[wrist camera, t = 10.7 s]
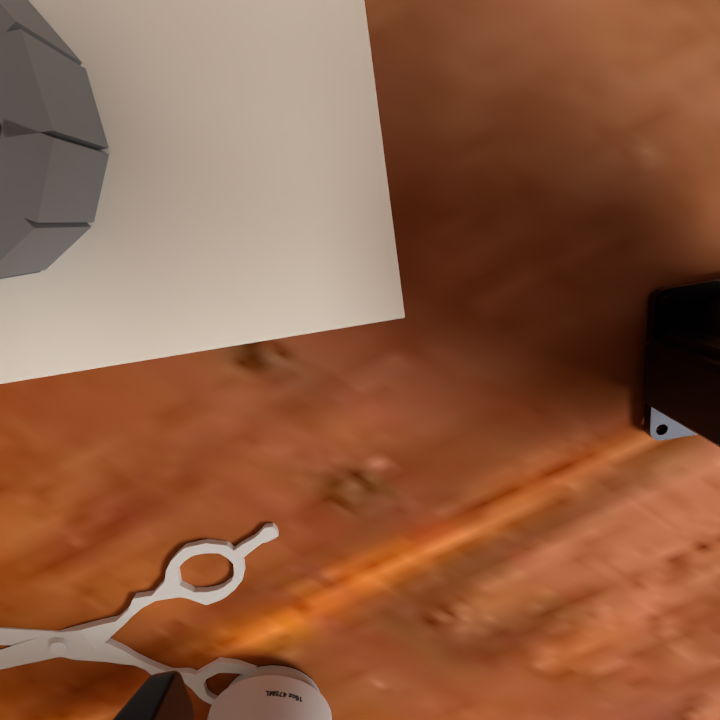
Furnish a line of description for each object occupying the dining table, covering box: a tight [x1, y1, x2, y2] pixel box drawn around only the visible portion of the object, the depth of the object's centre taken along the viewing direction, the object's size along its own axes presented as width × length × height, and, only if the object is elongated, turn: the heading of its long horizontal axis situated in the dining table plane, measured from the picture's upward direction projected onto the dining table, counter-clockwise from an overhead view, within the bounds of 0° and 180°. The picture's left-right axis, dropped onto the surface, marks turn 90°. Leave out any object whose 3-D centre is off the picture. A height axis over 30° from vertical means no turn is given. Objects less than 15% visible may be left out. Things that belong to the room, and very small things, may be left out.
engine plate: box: [0, 0, 405, 384], centre depth 13 cm, size 22×16×4 cm
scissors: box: [0, 523, 279, 705], centre depth 22 cm, size 11×1×20 cm
